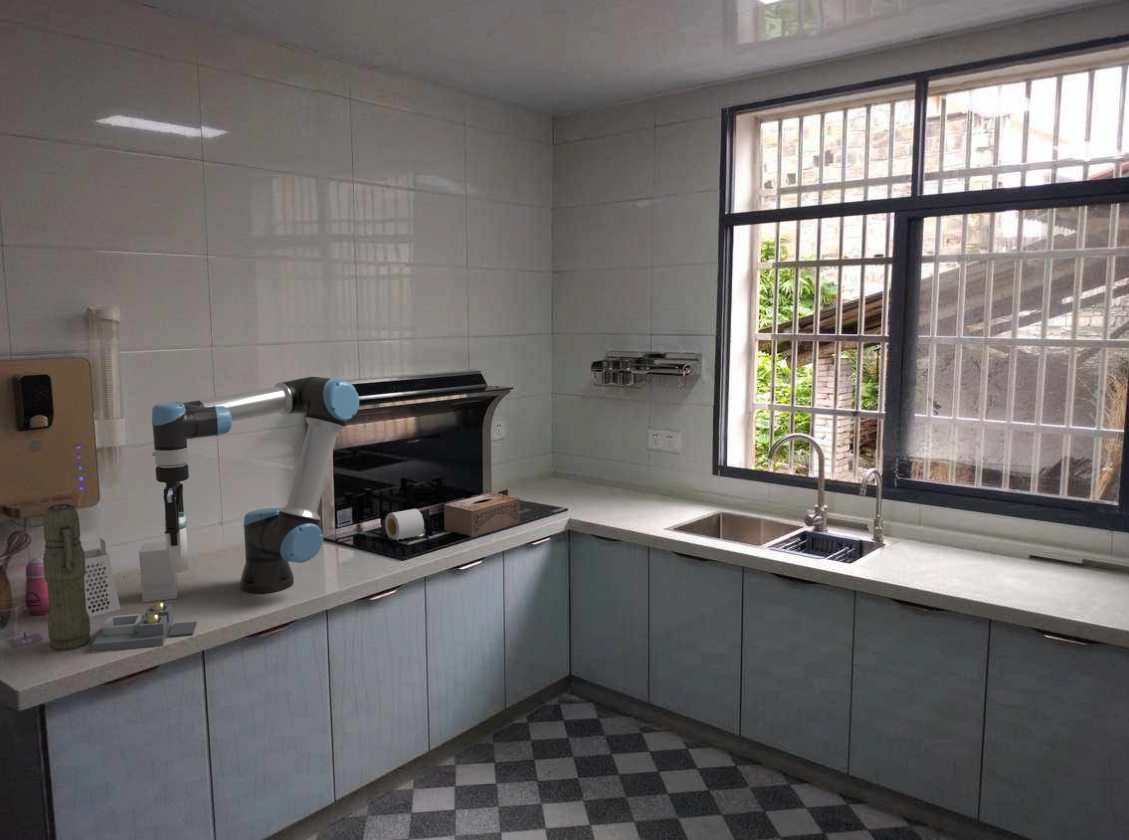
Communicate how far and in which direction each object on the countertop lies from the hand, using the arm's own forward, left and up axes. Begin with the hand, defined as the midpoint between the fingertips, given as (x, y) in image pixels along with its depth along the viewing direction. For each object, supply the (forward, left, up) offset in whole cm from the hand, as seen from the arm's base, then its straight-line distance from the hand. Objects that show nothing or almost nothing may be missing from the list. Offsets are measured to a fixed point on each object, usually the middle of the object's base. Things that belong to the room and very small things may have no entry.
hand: (177, 553), depth 216 cm
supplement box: (+9, -29, -21) cm, 37 cm away
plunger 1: (+6, -4, -18) cm, 19 cm away
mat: (0, 0, -21) cm, 21 cm away
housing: (+11, +1, -21) cm, 23 cm away
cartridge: (0, 0, -4) cm, 4 cm away
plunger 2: (+6, +5, -18) cm, 19 cm away
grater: (+25, -22, -21) cm, 39 cm away
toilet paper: (-65, -71, -21) cm, 98 cm away
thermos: (+25, +2, -21) cm, 33 cm away
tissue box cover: (-95, -80, -21) cm, 126 cm away
